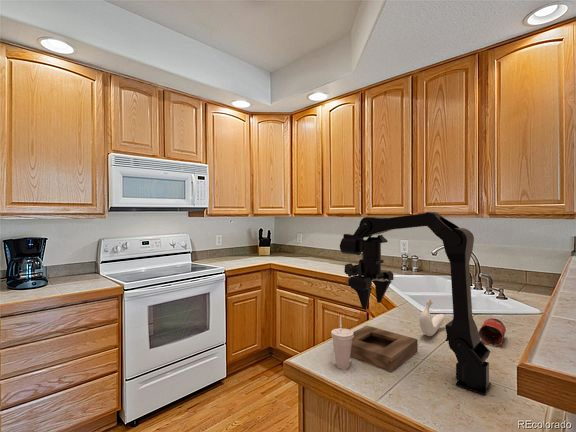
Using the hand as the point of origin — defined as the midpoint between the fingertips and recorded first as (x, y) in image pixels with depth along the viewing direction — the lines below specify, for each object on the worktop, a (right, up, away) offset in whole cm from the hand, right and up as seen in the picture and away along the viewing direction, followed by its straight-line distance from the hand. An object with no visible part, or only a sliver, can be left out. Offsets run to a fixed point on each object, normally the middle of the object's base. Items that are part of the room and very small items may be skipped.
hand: (371, 305), depth 98 cm
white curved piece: (+26, -15, +14) cm, 33 cm away
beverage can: (+44, -15, +9) cm, 47 cm away
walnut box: (+2, -15, 0) cm, 15 cm away
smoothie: (-11, -15, -9) cm, 21 cm away
